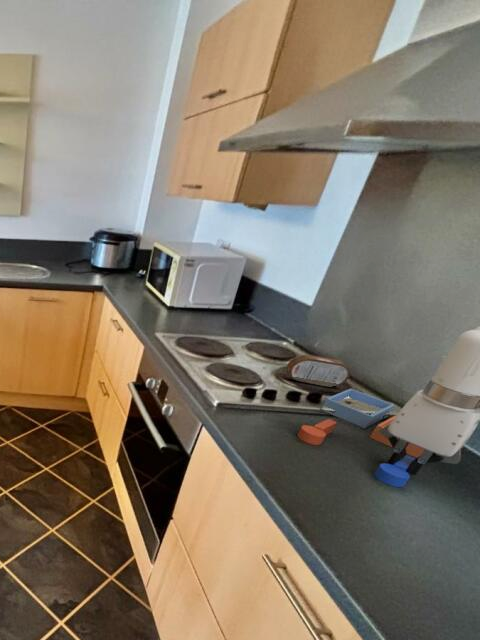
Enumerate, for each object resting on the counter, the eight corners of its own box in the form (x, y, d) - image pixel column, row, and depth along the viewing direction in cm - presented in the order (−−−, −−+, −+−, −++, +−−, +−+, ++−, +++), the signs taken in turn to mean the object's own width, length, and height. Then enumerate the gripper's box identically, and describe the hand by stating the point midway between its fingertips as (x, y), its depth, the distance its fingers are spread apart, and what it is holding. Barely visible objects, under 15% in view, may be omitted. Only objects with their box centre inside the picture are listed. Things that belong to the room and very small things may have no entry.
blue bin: (387, 416, 109) (395, 404, 107) (364, 428, 102) (372, 416, 101) (344, 399, 116) (350, 388, 114) (320, 409, 110) (326, 398, 108)
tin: (338, 386, 123) (352, 361, 119) (343, 391, 121) (357, 365, 117) (281, 376, 127) (292, 351, 123) (284, 381, 124) (296, 355, 121)
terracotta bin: (444, 444, 98) (453, 432, 96) (423, 460, 91) (432, 448, 90) (392, 424, 105) (400, 412, 104) (369, 437, 99) (377, 425, 97)
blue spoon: (419, 474, 87) (427, 463, 85) (398, 490, 82) (406, 479, 80) (391, 461, 90) (398, 451, 89) (369, 476, 85) (377, 465, 84)
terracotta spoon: (338, 435, 99) (343, 425, 97) (315, 447, 93) (321, 436, 92) (316, 425, 102) (321, 415, 101) (293, 436, 97) (298, 426, 96)
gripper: (520, 411, 74) (457, 489, 83) (406, 374, 86) (361, 446, 95) (509, 420, 71) (444, 501, 79) (392, 380, 83) (346, 454, 91)
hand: (399, 470), depth 87 cm, fingers closed on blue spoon
